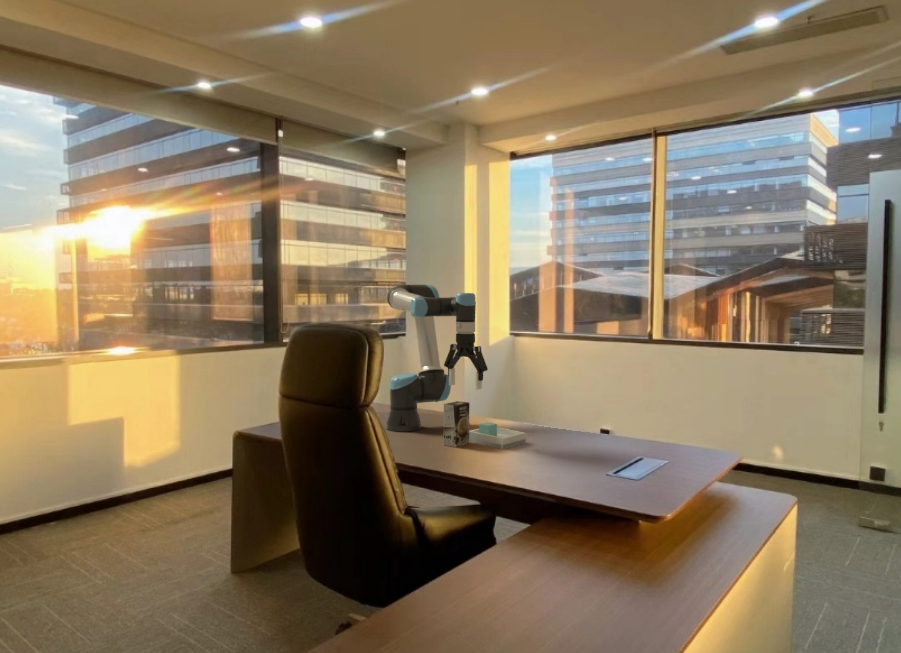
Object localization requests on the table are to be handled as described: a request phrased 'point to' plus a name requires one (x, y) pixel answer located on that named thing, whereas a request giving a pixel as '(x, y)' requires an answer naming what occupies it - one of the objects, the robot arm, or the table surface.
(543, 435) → the table surface
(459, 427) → the coffee box
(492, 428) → the teal cube
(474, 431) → the tote
